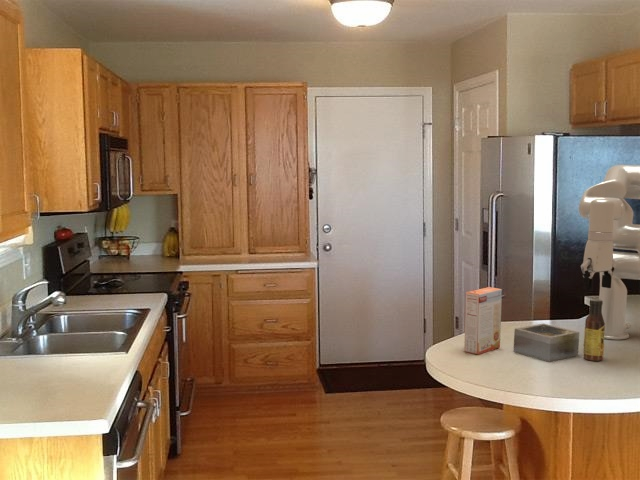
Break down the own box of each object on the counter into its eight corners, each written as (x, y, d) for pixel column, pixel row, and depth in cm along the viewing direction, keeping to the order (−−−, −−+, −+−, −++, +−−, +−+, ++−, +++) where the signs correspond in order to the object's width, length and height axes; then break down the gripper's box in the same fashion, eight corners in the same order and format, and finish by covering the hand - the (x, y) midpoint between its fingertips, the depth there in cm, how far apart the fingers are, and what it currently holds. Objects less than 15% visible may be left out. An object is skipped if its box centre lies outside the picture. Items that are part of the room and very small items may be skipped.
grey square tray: (546, 344, 278) (547, 322, 277) (582, 354, 266) (583, 331, 265) (513, 351, 268) (514, 328, 267) (549, 362, 256) (550, 338, 255)
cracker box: (485, 344, 277) (488, 286, 274) (500, 348, 272) (503, 288, 270) (462, 351, 267) (465, 291, 264) (477, 355, 263) (480, 293, 260)
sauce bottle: (604, 362, 257) (608, 302, 254) (584, 361, 258) (588, 301, 255) (601, 357, 263) (605, 298, 260) (581, 355, 264) (585, 297, 262)
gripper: (606, 234, 263) (603, 284, 265) (574, 237, 253) (570, 289, 255) (626, 236, 257) (623, 288, 259) (594, 239, 247) (590, 293, 249)
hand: (597, 288), depth 257 cm, fingers open, 9 cm apart
